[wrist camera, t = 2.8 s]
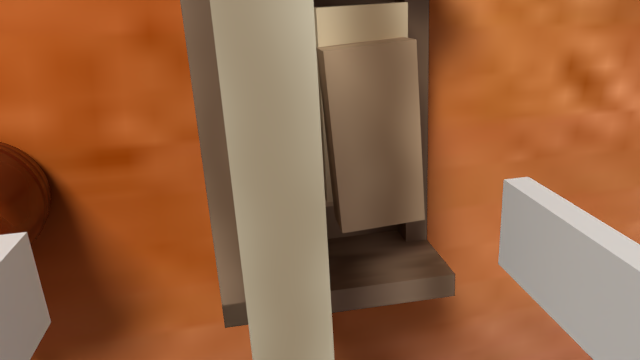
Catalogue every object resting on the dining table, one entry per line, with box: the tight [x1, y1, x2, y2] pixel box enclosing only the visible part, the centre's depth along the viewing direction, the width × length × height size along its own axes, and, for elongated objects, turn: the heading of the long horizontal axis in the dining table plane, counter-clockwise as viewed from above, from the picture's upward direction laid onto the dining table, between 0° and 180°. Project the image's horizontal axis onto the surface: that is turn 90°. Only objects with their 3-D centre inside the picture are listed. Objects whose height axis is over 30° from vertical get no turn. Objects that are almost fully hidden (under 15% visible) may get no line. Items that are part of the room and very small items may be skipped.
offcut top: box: [316, 37, 425, 233], centre depth 29 cm, size 5×10×2 cm, turn 6°
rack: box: [180, 0, 455, 328], centre depth 32 cm, size 14×22×8 cm, turn 3°
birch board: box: [210, 0, 334, 360], centre depth 23 cm, size 2×16×23 cm, turn 3°
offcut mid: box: [314, 2, 408, 202], centre depth 31 cm, size 5×11×2 cm, turn 3°
